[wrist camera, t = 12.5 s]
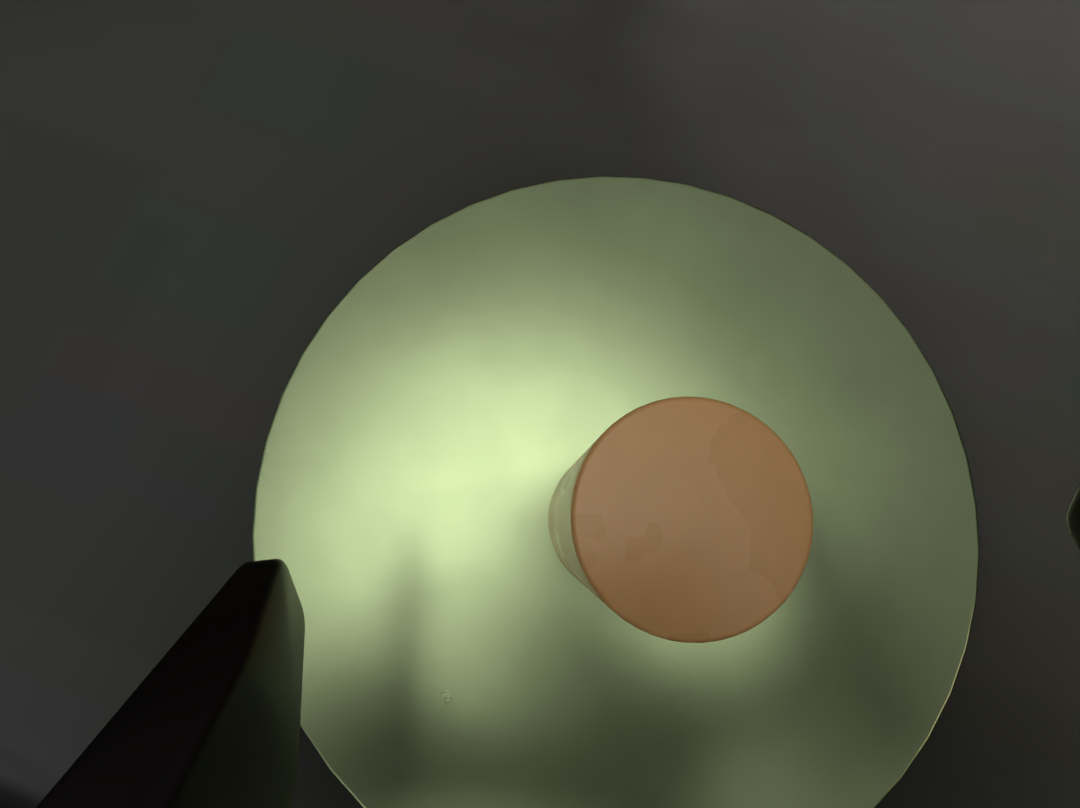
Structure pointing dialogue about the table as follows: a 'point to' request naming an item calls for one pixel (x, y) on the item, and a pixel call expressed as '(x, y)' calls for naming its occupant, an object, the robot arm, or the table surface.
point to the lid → (619, 514)
